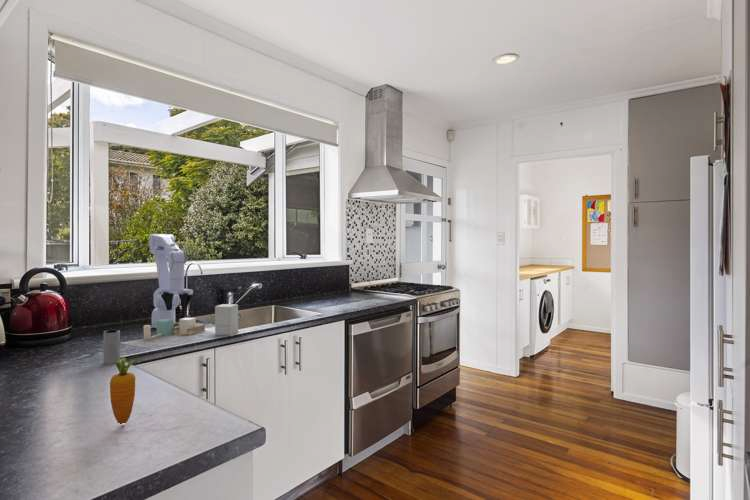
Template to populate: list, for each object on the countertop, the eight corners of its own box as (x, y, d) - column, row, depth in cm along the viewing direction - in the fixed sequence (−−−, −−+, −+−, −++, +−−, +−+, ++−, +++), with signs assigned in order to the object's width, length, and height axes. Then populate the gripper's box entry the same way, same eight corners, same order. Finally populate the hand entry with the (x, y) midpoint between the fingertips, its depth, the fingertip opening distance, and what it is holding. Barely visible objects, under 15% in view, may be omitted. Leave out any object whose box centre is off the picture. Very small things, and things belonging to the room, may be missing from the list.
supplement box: (238, 332, 183) (238, 304, 183) (231, 336, 176) (231, 306, 175) (222, 332, 184) (222, 303, 183) (214, 336, 176) (214, 306, 176)
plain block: (179, 333, 178) (179, 319, 178) (186, 331, 182) (186, 317, 182) (188, 334, 177) (188, 320, 176) (195, 332, 181) (195, 318, 181)
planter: (123, 361, 138) (123, 330, 138) (110, 365, 134) (110, 333, 134) (113, 360, 140) (113, 329, 140) (100, 363, 136) (100, 332, 135)
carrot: (116, 421, 93) (116, 354, 93) (140, 421, 93) (140, 354, 93) (104, 431, 88) (104, 360, 88) (129, 431, 88) (129, 360, 88)
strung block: (140, 341, 166) (139, 326, 166) (164, 332, 179) (164, 318, 178) (149, 341, 165) (149, 326, 165) (173, 333, 178) (173, 319, 177)
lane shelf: (158, 334, 178) (158, 326, 178) (175, 329, 188) (175, 322, 188) (189, 336, 174) (189, 328, 174) (204, 331, 184) (204, 324, 184)
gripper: (155, 279, 178) (155, 311, 178) (184, 280, 174) (184, 313, 174) (167, 277, 184) (167, 308, 185) (196, 278, 181) (196, 310, 181)
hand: (176, 310), depth 180 cm, fingers open, 7 cm apart
